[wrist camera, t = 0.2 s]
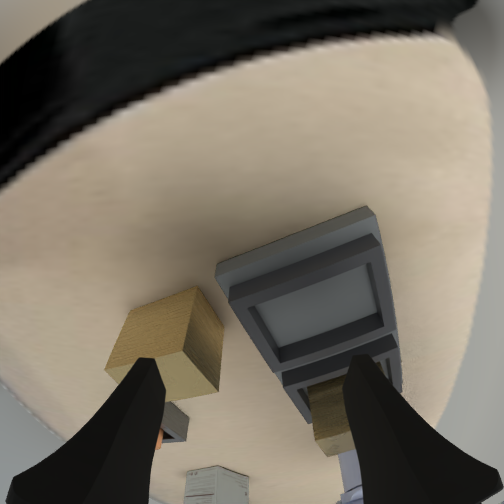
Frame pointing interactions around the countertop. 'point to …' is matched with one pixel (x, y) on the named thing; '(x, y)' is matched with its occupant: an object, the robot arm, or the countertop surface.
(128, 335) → the block
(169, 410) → the button housing
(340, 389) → the block
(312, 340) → the tray
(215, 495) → the supplement box
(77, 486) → the robot arm
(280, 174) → the countertop surface
